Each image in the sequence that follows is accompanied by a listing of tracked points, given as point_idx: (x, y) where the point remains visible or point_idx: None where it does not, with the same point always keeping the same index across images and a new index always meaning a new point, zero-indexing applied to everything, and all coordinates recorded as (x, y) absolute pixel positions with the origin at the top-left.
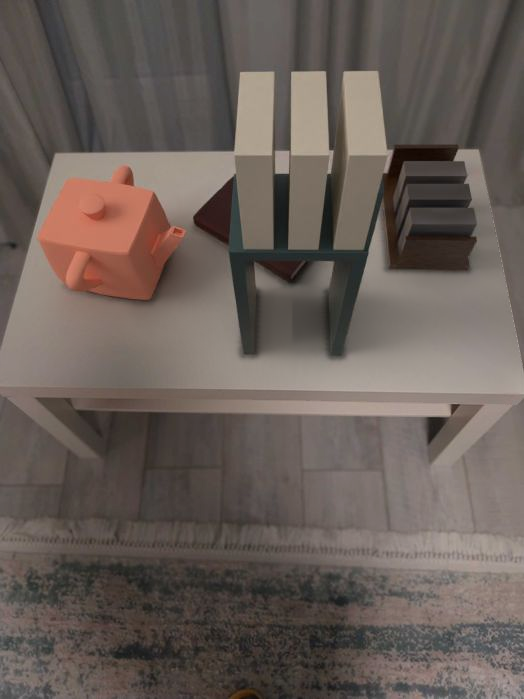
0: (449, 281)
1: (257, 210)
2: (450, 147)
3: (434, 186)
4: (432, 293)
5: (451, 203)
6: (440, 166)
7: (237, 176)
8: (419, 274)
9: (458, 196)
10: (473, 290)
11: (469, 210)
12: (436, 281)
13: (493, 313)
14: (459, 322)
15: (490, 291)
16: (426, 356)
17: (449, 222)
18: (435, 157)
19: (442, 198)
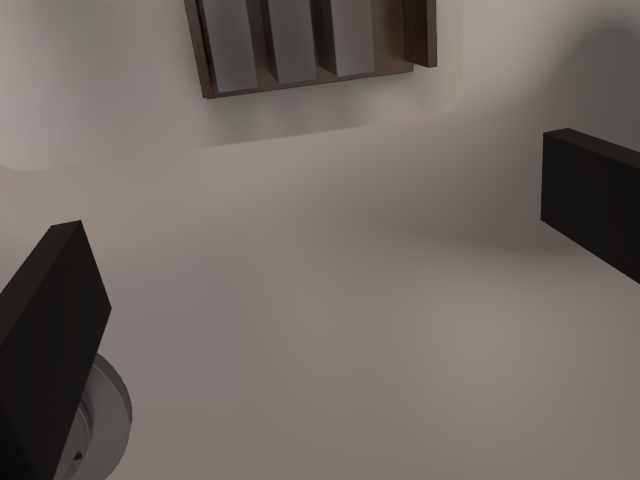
0: (175, 65)
1: None
2: (428, 51)
3: (302, 8)
4: (142, 34)
5: (272, 46)
6: (357, 22)
7: None
8: (179, 9)
9: (282, 58)
10: (165, 107)
11: (250, 79)
12: (170, 42)
13: (126, 138)
14: (92, 82)
15: (170, 134)
16: (3, 23)
17: (213, 38)
18: (419, 26)
19: (273, 25)
